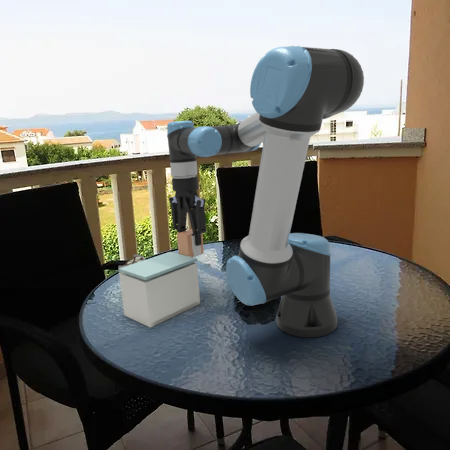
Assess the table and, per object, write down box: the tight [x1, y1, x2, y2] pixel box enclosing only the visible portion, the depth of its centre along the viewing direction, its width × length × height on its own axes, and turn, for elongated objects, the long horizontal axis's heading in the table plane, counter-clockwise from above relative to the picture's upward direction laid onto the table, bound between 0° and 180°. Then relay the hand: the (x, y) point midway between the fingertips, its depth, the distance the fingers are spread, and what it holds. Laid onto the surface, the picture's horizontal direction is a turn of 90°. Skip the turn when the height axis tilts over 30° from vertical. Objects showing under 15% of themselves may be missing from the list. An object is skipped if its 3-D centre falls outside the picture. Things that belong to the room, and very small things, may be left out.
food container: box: [117, 254, 146, 274], centre depth 133 cm, size 12×6×10 cm, turn 168°
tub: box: [118, 262, 201, 328], centre depth 116 cm, size 12×18×12 cm, turn 137°
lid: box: [118, 228, 204, 280], centre depth 116 cm, size 12×24×7 cm, turn 137°
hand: (191, 254), depth 123 cm, fingers closed on lid, 4 cm apart
